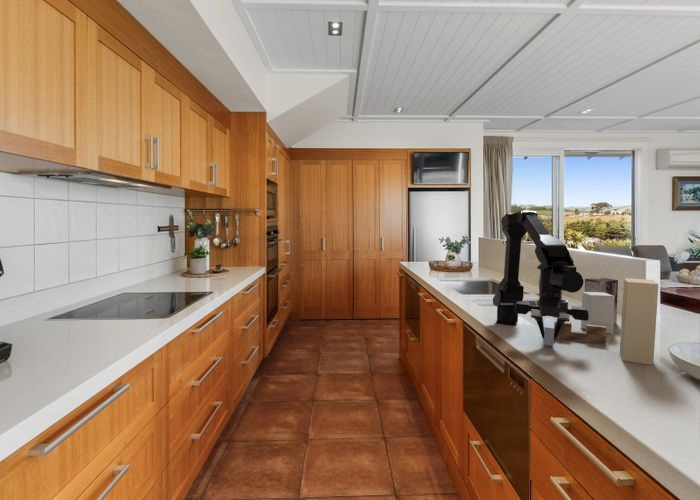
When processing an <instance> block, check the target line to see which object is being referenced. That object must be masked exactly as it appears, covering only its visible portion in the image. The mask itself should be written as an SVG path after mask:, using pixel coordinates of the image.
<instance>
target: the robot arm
mask: <svg viewBox="0 0 700 500" xmlns="http://www.w3.org/2000/svg"><path fill="white" fill-rule="evenodd" d="M500 222H501V229H502V230H501V231H502V232H503V235H504V236H505V239H506V240H505V255H504V270H503V278H502V280H500V282H499V283H498V284H497V285H498V286H497V290H496V292H495V294H494V296H493V297H492V304H493V306H495V307H497V308H496V321H495V323H496V324H499V325H500V324H502V325H508V326H510V325H511V326H516V324H517V323H519V322H518V321H519V315H527V314H528V313H529V312H530V313H531V314H530V318H532V319H534V320H535V322H536V323H537V325H538V328H539V333H540V334H541V338H542V339H543V340H544V327H545V323H544V317H552V318H556V320H555V321H556V326H555V331H554V342H555V341H557V340H556V339H558V338H557V335H558V333H559V331H560V328H561V327H562V325H563V324H564V322H570V317H572V318H573V319H574V320H576V321H581V320H585V321H588V316H589V313H588V310H587V309H586V308H585V307H582V306H577V305H571V308H569V300H568V299H562V296H563V291H564V292H568V293H577V292H579V291H580V290H581V289H582V288H583V285H584V284H585V279H583V276H582V274H581V273H580V272H578V271H577V266H575V265H574V260H573V258H572V257H571V254H570V252H569V249H568V247H567V245H566V244H565V243H564V242H562V241H561V240H560V239H559V238H556V237H554V236H552V235H551V233H550V232H549V231H548V229H547V228H546V227H545V226H544V224H543V223H542V221H541V219H539V217H538V213H537V211H534V210H521V211H518V212H514V213H513V212H512V213H511V212H510V213H508V212H507V213H505V214H504V216H502V218H501V221H500ZM526 234H528V235H529V237H530V238H531V240H532V242H533V243H534V246H535V249H534V253H535V255H536V258H537V260H538V262H539V265H538V266H537V267H536V269H537V270H540V271H539V299H538V305H531V303H530V301H524V296H525V295H524V290H525V289H524V285H522V284H521V281H519V275H520V265H521V264H520V263H521V249H522V239H523V238H524V237H525V235H526Z"/></svg>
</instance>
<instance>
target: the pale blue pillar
mask: <svg viewBox="0 0 700 500" xmlns="http://www.w3.org/2000/svg"><path fill="white" fill-rule="evenodd" d="M554 321H555V319H554V318H548V317H547V318H546V317H545V320H544V339H543V345H546V346H552V347H553V346H554V343H555V341H554Z"/></svg>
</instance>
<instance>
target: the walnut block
mask: <svg viewBox="0 0 700 500" xmlns="http://www.w3.org/2000/svg"><path fill="white" fill-rule="evenodd" d="M572 325H573V323H572V322H570V321H569V322H567V321H565V322H564V324H563V325H562V327H561V328H560V331H559V333H558V335H557V338H556V339H561V340H569V341H577V342H586V343H594V344H601V345H606V344H607V333H606V326H599V325H589V324H586V330H585V331H581V330H580V331H579V330H572ZM555 326H556V320H554V331H555Z"/></svg>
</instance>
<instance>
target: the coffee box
mask: <svg viewBox="0 0 700 500" xmlns="http://www.w3.org/2000/svg"><path fill="white" fill-rule="evenodd" d="M618 288H619V280H618V279H613V278H609V277H593V278H592V277H590V278H585V279H584V292H604V293H607V294H610V295H613V296H615V300H614V324H617V322H618V320H617V319H618V317H617V315H618V292H619V291H618Z"/></svg>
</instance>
